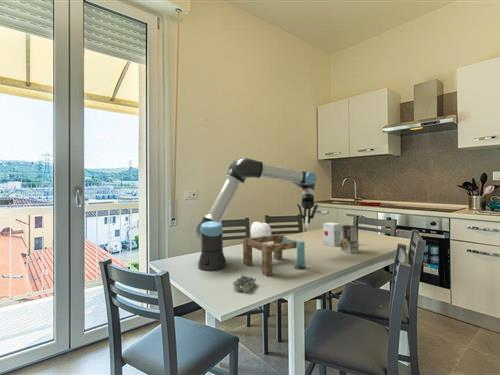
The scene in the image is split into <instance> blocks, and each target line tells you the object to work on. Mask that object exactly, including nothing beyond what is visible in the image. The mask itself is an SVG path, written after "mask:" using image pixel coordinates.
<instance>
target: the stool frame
mask: <svg viewBox="0 0 500 375" xmlns="http://www.w3.org/2000/svg"><path fill="white" fill-rule="evenodd" d="M283 237H285V235H282V234H279V233H276V234H275V233H274V234H271V235H269V236H261V237H254V238H252V237H247V238H246V237H245V238H242V249H243V250H242V256H243V260H242V261H243V265H245V266H252V265H253V248H254V249H256V250H258V251H261V272H262V273H261V274H262V276H265V277H269V276H273V259H275V260H276V261H279V260H283V251H286V250H292V249H297V242H295V241H291V242H284V243H283ZM264 242H267V243H268V242H272V244H267V243H266V244H267V245H266V244H263V243H264ZM293 268H294V269H295V270H305V269H306V268H307V266H305V267H298V266H297V265H295V266H293Z"/></svg>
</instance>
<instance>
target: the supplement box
mask: <svg viewBox="0 0 500 375" xmlns="http://www.w3.org/2000/svg"><path fill="white" fill-rule="evenodd" d="M341 226H342V224H341V223H338V222H325V223H323V224H322V230H323V231H322V232H323V235H322V236H323V237H322V238H323V240H322V241H323V245H324V246H330V247H337V246H341Z"/></svg>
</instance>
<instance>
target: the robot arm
mask: <svg viewBox="0 0 500 375" xmlns="http://www.w3.org/2000/svg"><path fill="white" fill-rule="evenodd" d="M225 177H226V180H225V182H224V184H223V186H222V188H221V190H220V192H219V193H218V195H217V196H216V199H215V201H214V202H213V204H212V207H210V210H209V212H208V213H207V214H205V215H204V216H203V217H202V220H200V222H199V223H198V224H197V226H196V229H195V230H196V231H195V232H196V233H195V234H196V236H197V238H198V239H199V240H200V250H201V251H200V252H201V253H200V256H199V259H198V263H197V266H198V269H199V270H202V271H216V270H222V269H224V268H226V267H227V259H226V256H225V253H224V243H223V242H224V240H223V237H224V234H223V232H224V229H223V223H222V220H223V218H224V216H225V214H226V212H227V210H228V208H230V205H231V203H232V201H233V198H234V197H235V195H236V193H237V192H238V189H239V188H240V186H242V185H244V183H245V181H246V179H248V178H250V179H251V178H253V179H254V178H255V179H260V178H267V179H273V180H278V181H285V182H291V183H292V184H294V185H295V186H297V187H298V188H301V189H302V192H301V193H302V194H301V202H300V203H297V209H298V211H299V214H300V218H301V219H303V222H302V223H303V224H304V228H305V229H309V224H310V223H311V219H312V220H313V219H314V217H315V214H316V211H317V209H319V204H318V203H316V202H315V185H316V182H317V175H316V174H315V172H312V171H303V170H298V169H292V168H287V167H283V166H276V165H271V164H266V163H264V162H263V161H260V160H255V159H253V158H252V159H251V158H248V157H242V158H238V159H235V160H233V161H232V162H231V163H229V166H228V171H227V173H226V174H225ZM315 203H316V204H315ZM302 208H303V211H302ZM311 210H312V212H311Z"/></svg>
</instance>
